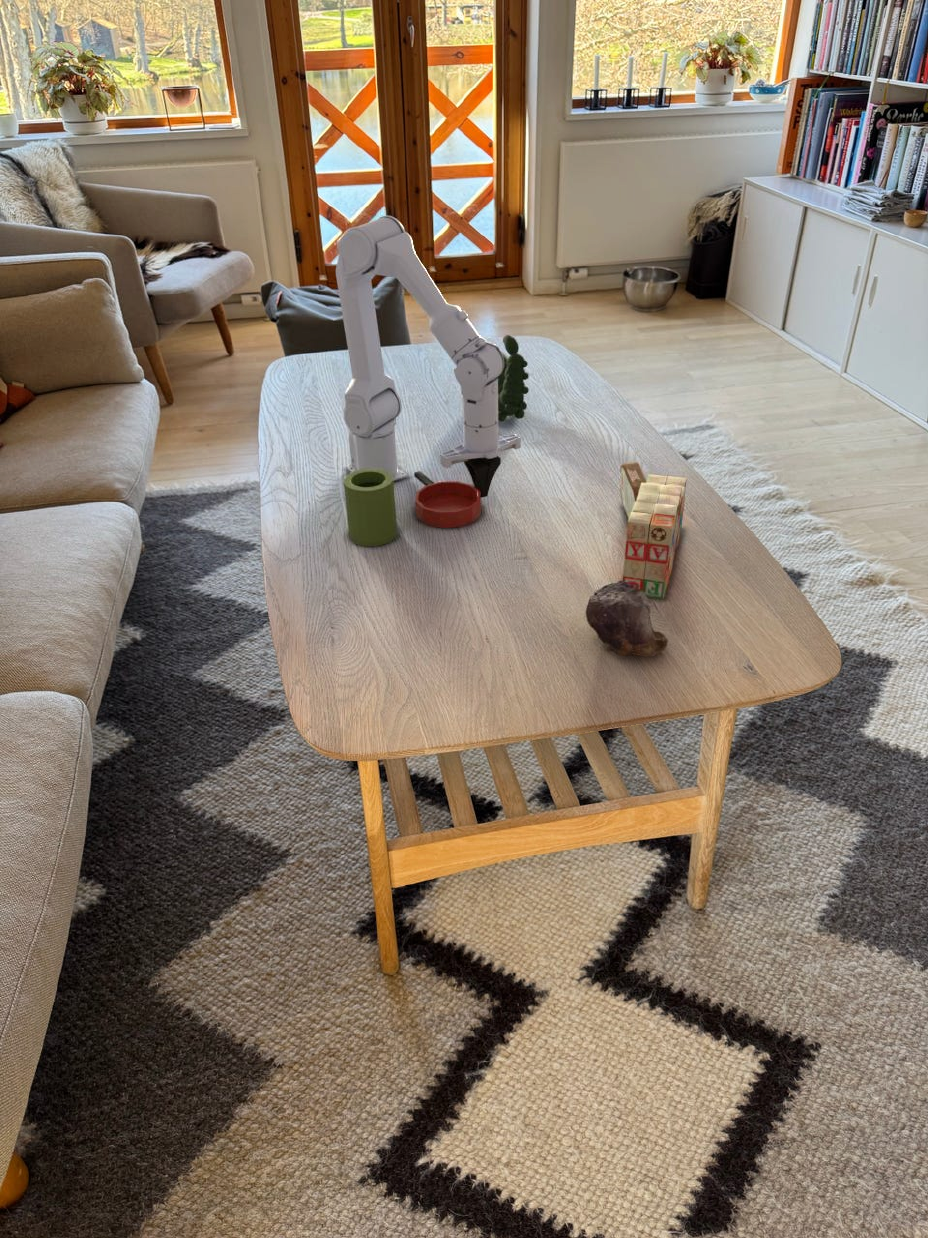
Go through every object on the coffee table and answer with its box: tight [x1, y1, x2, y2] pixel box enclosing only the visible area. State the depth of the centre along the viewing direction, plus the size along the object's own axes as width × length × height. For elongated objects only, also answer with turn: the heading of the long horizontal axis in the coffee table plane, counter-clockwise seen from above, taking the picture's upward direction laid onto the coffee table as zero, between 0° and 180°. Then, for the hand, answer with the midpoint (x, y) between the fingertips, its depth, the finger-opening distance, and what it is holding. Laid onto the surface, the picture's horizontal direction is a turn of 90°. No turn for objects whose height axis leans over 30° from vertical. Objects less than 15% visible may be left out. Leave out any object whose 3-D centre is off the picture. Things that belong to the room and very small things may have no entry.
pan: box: [413, 470, 482, 529], centre depth 161 cm, size 17×11×3 cm, turn 30°
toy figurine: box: [495, 334, 530, 422], centre depth 191 cm, size 9×19×25 cm
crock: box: [343, 468, 398, 547], centre depth 152 cm, size 8×8×10 cm
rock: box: [585, 580, 669, 657], centre depth 126 cm, size 12×9×10 cm
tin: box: [619, 461, 647, 521], centre depth 154 cm, size 15×3×8 cm, turn 3°
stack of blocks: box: [621, 473, 688, 600], centre depth 143 cm, size 21×6×12 cm, turn 162°
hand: (481, 494), depth 162 cm, fingers closed
